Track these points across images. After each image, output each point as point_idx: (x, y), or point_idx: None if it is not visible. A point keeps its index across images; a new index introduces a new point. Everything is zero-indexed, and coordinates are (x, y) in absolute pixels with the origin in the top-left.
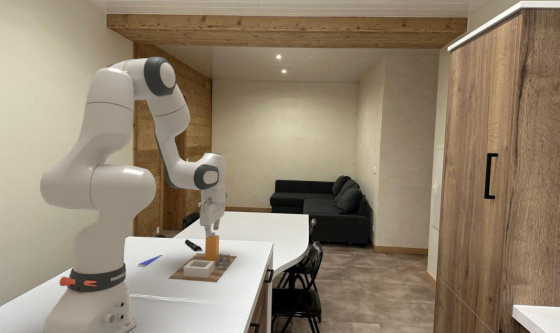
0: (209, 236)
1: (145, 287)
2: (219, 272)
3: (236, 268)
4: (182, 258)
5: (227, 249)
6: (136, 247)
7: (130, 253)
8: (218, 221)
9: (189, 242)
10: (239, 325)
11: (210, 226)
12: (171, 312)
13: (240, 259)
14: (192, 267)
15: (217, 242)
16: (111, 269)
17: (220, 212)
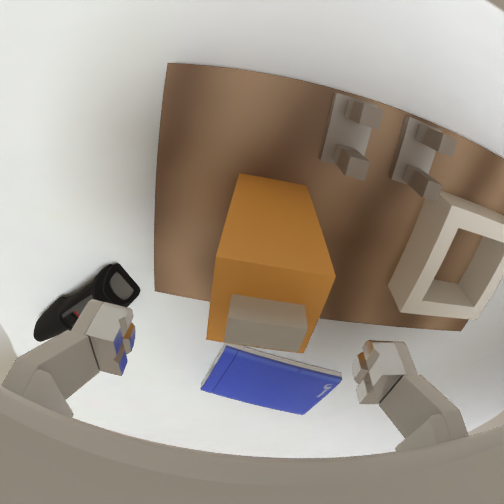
0: (400, 343)
1: (466, 354)
2: (463, 162)
3: (354, 58)
4: (203, 330)
5: (25, 159)
6: (134, 421)
7: (188, 428)
8: (51, 366)
9: (59, 332)
10: None
11: (452, 422)
12: None
13: (173, 43)
14: (491, 290)
15: (281, 236)
16: None
17: (31, 501)
